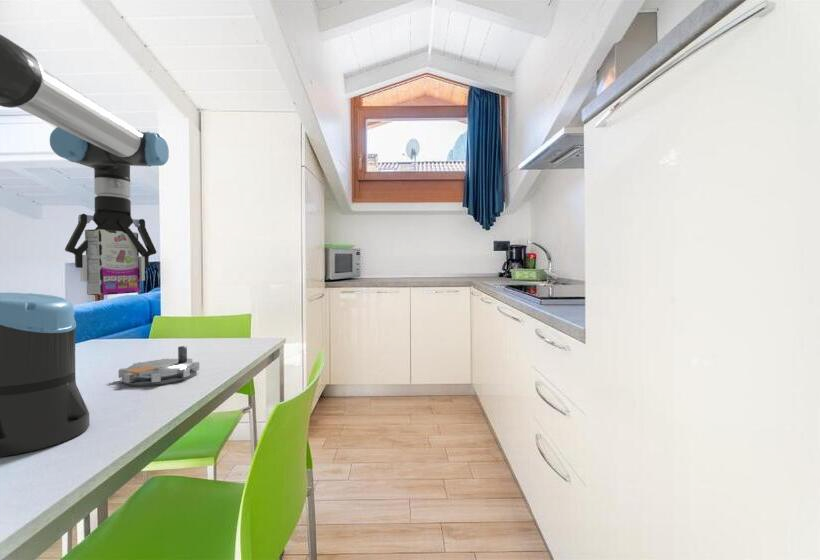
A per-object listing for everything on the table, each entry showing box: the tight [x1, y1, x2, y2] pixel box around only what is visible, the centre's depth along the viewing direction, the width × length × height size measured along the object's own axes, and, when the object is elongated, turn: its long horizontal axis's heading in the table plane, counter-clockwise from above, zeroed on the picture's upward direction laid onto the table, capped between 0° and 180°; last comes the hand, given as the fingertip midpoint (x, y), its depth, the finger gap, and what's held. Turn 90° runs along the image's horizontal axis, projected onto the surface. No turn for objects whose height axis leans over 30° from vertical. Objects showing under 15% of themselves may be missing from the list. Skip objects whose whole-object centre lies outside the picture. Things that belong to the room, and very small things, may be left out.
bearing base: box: [121, 370, 198, 387], centre depth 101 cm, size 16×16×1 cm
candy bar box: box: [84, 228, 141, 296], centre depth 104 cm, size 11×5×16 cm, turn 169°
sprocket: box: [118, 345, 200, 383], centre depth 101 cm, size 17×17×6 cm
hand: (114, 280), depth 104 cm, fingers closed on candy bar box, 12 cm apart
